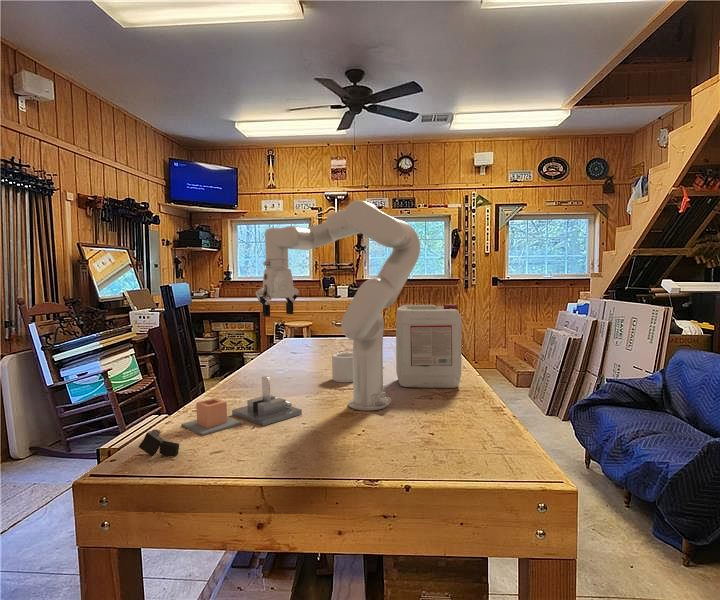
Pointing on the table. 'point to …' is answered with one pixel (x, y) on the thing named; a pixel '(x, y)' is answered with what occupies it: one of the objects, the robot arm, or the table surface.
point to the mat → (204, 431)
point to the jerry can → (428, 346)
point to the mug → (342, 367)
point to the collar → (211, 412)
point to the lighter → (158, 444)
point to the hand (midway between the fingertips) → (278, 315)
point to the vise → (266, 408)
